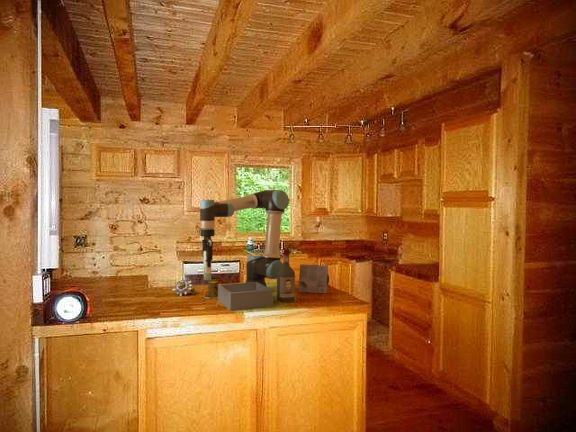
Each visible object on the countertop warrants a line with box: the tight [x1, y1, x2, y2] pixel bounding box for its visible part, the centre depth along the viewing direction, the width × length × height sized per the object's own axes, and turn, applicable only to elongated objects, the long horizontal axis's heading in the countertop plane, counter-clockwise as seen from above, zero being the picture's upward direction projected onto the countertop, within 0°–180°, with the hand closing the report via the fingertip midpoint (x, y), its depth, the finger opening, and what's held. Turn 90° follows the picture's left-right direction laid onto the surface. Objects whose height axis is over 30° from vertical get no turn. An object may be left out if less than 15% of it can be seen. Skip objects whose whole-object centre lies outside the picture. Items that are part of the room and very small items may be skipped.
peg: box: [203, 251, 212, 281], centre depth 209 cm, size 4×4×15 cm
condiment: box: [202, 275, 219, 299], centre depth 236 cm, size 7×8×12 cm
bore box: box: [217, 282, 274, 312], centre depth 221 cm, size 24×24×9 cm
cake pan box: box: [298, 263, 330, 294], centre depth 252 cm, size 19×5×18 cm, turn 84°
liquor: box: [276, 248, 296, 303], centre depth 228 cm, size 9×9×30 cm
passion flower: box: [171, 277, 196, 297], centre depth 240 cm, size 11×11×12 cm
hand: (207, 272), depth 210 cm, fingers closed on peg, 4 cm apart
